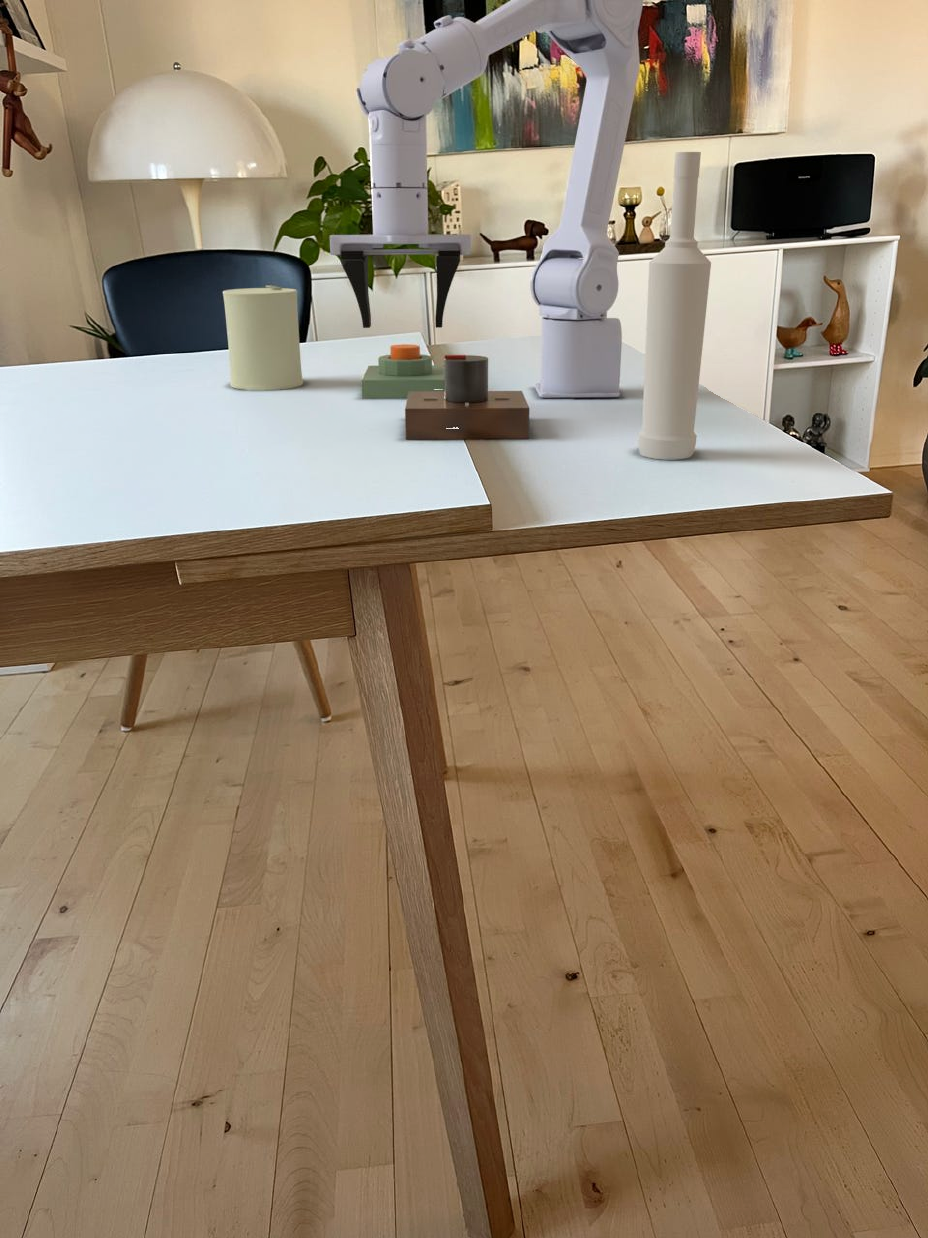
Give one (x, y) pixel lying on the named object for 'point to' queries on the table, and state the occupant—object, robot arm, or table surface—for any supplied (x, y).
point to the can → (263, 338)
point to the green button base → (401, 377)
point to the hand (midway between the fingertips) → (403, 326)
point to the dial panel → (467, 416)
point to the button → (405, 352)
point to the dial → (465, 378)
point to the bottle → (675, 326)
